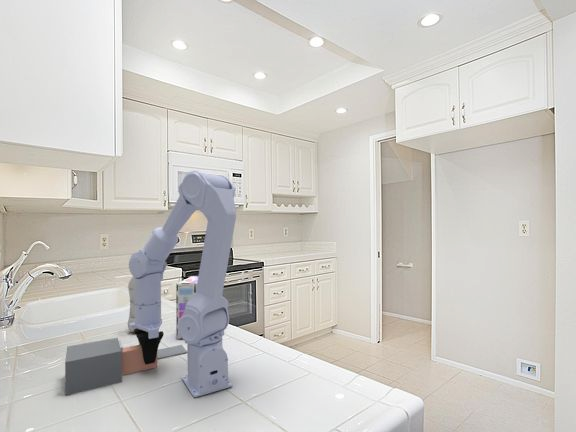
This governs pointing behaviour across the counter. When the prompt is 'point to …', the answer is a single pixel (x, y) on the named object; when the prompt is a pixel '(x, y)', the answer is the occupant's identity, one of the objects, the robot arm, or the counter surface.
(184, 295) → the candy box
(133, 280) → the plastic bottle
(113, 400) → the counter surface
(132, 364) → the tall peach block
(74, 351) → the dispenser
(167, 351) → the pad
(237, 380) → the counter surface
